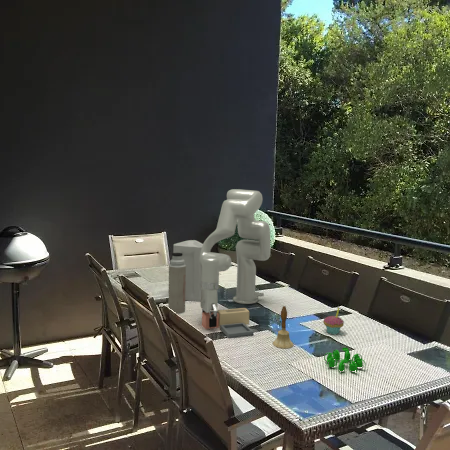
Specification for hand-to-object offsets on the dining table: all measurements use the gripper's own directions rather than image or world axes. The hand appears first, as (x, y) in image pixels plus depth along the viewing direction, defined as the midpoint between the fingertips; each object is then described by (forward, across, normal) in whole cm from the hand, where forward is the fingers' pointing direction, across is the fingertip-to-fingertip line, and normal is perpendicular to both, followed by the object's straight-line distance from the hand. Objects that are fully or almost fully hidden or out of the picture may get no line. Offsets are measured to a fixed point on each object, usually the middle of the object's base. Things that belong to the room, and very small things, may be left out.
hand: (209, 323), depth 221 cm
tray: (+1, +10, +9) cm, 13 cm away
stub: (+2, 0, 0) cm, 2 cm away
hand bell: (+2, +28, +22) cm, 36 cm away
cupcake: (+2, +22, +49) cm, 54 cm away
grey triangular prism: (+2, -44, +3) cm, 44 cm away
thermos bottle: (+2, -24, -8) cm, 25 cm away
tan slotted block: (+1, 0, +11) cm, 11 cm away
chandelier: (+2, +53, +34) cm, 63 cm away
